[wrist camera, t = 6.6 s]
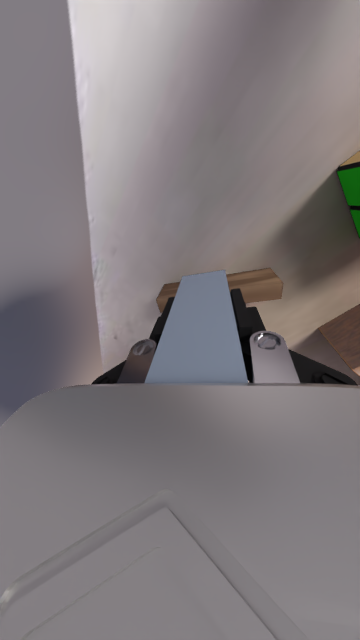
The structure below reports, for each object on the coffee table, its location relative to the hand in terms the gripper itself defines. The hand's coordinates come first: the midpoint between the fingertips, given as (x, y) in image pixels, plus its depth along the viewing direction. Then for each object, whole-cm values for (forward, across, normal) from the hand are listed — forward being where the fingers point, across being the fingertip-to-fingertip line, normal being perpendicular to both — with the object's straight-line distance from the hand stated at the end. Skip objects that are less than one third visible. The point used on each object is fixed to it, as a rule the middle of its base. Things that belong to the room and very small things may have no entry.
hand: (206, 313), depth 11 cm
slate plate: (+2, 0, +6) cm, 6 cm away
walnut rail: (+19, 0, +6) cm, 20 cm away
